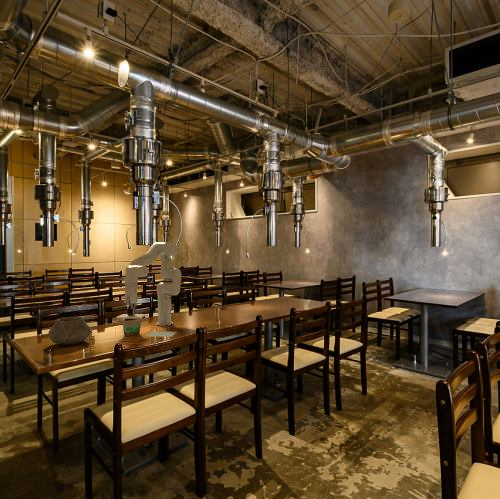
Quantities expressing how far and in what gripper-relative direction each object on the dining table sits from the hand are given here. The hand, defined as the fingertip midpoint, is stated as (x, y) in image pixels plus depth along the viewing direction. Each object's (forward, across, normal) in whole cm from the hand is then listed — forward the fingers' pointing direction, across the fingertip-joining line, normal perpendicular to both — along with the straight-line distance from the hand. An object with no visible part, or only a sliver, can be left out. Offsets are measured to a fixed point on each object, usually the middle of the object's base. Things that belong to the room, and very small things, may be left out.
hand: (131, 314), depth 210 cm
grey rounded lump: (+15, +17, -30) cm, 37 cm away
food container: (+15, 0, 0) cm, 15 cm away
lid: (+2, 0, 0) cm, 2 cm away
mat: (+14, -5, +18) cm, 24 cm away
